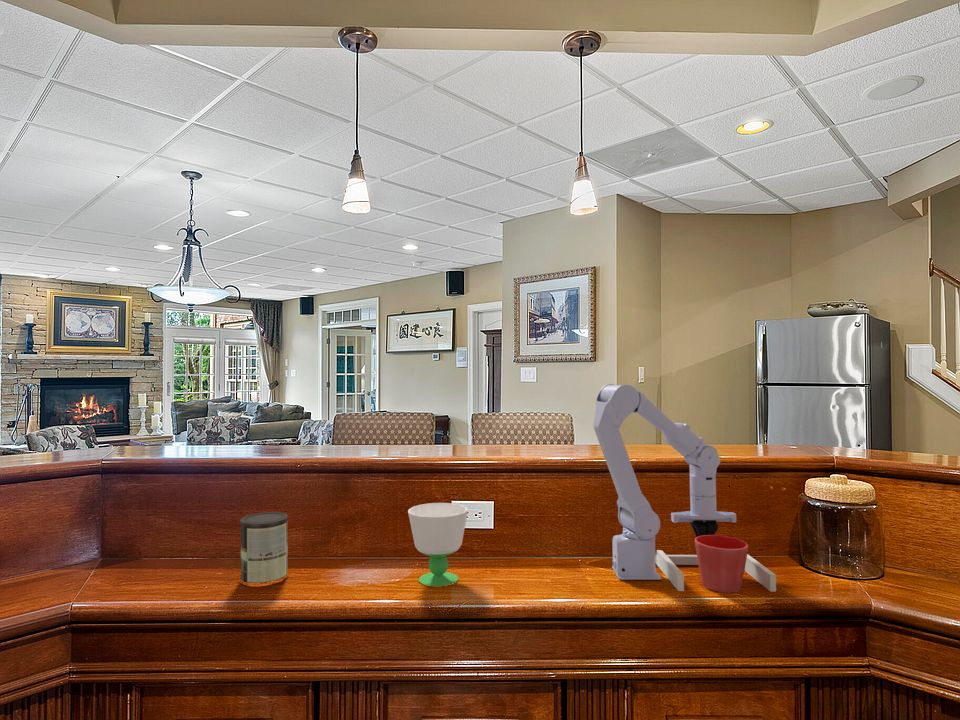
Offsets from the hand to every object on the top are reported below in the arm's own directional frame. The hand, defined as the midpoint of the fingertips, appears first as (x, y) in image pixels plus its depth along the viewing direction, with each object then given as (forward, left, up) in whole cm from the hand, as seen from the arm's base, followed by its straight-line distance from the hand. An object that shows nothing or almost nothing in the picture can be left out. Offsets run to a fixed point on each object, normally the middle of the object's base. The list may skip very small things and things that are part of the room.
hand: (704, 552), depth 133 cm
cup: (-62, -8, -4) cm, 63 cm away
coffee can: (-102, -8, -4) cm, 102 cm away
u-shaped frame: (0, -5, -4) cm, 7 cm away
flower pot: (0, -11, -4) cm, 11 cm away
